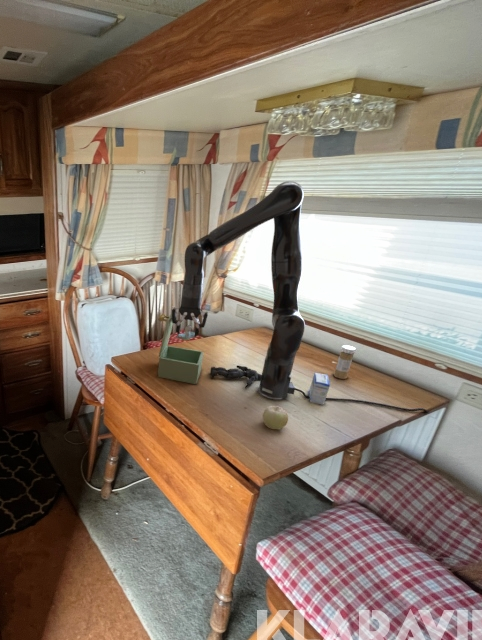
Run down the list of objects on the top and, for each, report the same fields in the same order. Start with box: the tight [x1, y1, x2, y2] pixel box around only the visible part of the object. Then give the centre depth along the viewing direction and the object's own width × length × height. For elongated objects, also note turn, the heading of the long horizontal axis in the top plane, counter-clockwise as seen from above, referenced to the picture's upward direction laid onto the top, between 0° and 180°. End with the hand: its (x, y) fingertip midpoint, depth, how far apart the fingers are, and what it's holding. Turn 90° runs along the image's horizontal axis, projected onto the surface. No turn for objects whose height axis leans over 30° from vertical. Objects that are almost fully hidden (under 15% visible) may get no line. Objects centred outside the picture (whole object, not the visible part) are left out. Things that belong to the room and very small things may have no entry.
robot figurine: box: [210, 365, 262, 389], centre depth 146 cm, size 18×4×20 cm
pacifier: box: [176, 324, 195, 341], centre depth 144 cm, size 7×6×6 cm
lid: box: [157, 313, 174, 358], centre depth 148 cm, size 16×14×5 cm
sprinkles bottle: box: [333, 344, 356, 380], centre depth 145 cm, size 5×5×13 cm
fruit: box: [262, 405, 289, 430], centre depth 116 cm, size 8×7×8 cm
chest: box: [157, 345, 204, 385], centre depth 150 cm, size 16×14×9 cm
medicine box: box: [308, 372, 331, 405], centre depth 131 cm, size 8×4×9 cm, turn 152°
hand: (187, 334), depth 144 cm, fingers closed on pacifier, 6 cm apart
